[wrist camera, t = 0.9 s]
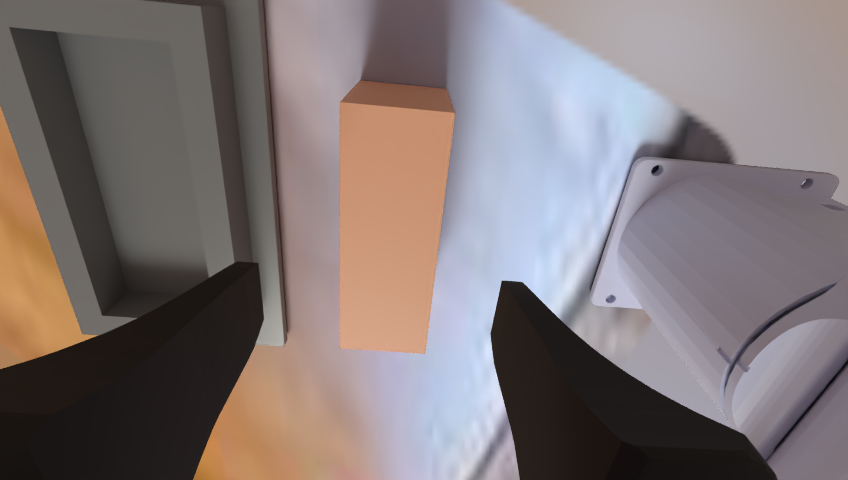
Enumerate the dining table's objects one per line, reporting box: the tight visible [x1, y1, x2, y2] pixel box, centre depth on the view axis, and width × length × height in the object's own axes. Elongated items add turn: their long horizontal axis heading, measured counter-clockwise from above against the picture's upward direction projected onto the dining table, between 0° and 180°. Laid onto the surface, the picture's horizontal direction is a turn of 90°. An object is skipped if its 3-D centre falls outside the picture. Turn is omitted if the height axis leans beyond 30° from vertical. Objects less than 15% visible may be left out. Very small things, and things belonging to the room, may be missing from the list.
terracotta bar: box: [340, 80, 455, 354], centre depth 18 cm, size 4×10×5 cm, turn 175°
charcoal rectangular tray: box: [0, 0, 287, 346], centre depth 18 cm, size 10×18×3 cm, turn 175°
